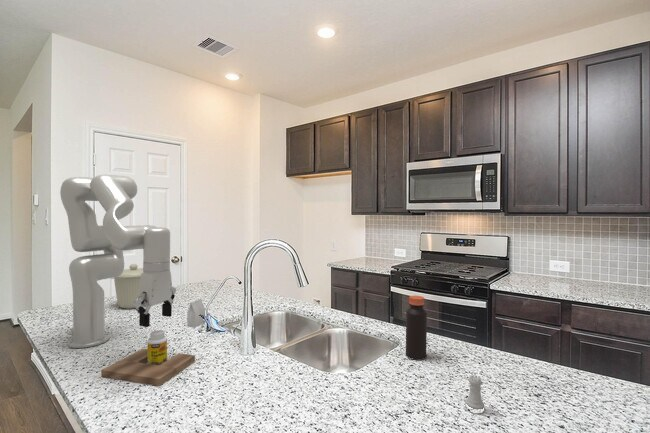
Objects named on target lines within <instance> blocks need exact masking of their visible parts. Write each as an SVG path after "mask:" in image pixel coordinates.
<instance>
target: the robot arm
mask: <svg viewBox="0 0 650 433" xmlns="http://www.w3.org/2000/svg"><path fill="white" fill-rule="evenodd" d="M59 193H60V194H59V195H60V200H61V203H62V205H63V208H64V210H65V213H66V216H67V220H68V221H67V222H68V229H69V238H70V242H71V247H72V250H74V251H75V252H78V253H90V252H97V251H98V252H101V251H103V253H99V254H89V255H83V256H79V257H76V258H74V259H73V260H71V261H70V264H69V266H68V272H69V277H70V281H71V287H72V288H71V289H72V324H73V325H72V328H71V329H70V330H69V331H67V332H66V334H67V336H71V339H69V340H68V341H67V345H68V347H70V348H73V349H83V348H84V349H85V348H92V347H94V346H95V347H96V346H99V345H101V344H104V343H106V342H107V341H109V340H110V335H111V334H110V333H108V332H106V330H105V329H106V328H105V326H106V325H105V324H106V321H105V314H106V313H105V310H106V309H105V308H106V307H105V291H104V289H103V287H102V286H101V285H100V284H99V283H98V281H101V280H107V279H114V277H117V276H120V275H121V274H122V273H123V271H124V270H125V257H124V251H133V250H142V251H143V254H142V255H143V256H142V258H143V260H142V261H143V262H142V264H143V265H142V268H143V273H141V277H140V282H139V290H138V298H137V299H136V300H135V301H134V302H133V304H134V306H135V308H134V309H135V311H137V314H138V316H139V318H138V319H139V321H138V323H139V324H138V325H139V326H140V327H145V328H148V327H150V325H151V324H150V321H151V318H150V317H151V315H150V313H149V312H150V309H151V308H152V307H153V306H156V305H159V304H162V305H161V315H162V316H163V317H167V318H170V317H172V312H173V311H172V310H173V309H172V308H173V307H172V305H173V303H174V299H175V296H176V295H175V294H176V292H177V288H176V287H174V286H173V284H172V283H173V281H172V280H173V279H172V272H171V231H170V229H169V228H167V227H162V226H161V227H160V226H159V227H157V226H155V225H150V224H148V225H147V224H146V225H145V224H144V225H125V226H124V225H122V224H121V222H120V221H119V220H122V219H124V218H125V217H127V216H128V215H130V214H131V213H132V211H133V210H134V206H135V205H134V201H133V200H132V199H133V198H135V197H136V195H137V193H138V185H137V184H136V182H135V180H134V179H133V178H131V177H130V176H125V175H115V174H114V175H113V174H100V175H96V176H93V177H87V176H86V177H85V176H74V177H73V176H72V177H69V178H66V179H65V180H63V182H62V183H61V186H60V192H59ZM86 201H87V202H88V201H89V202H98V203H99V204H100V205H101V207H102V208H103V210H104V211H105V214H104V216H103V219H102V225H98V222H97V214H96V212H95V211H94V209H93V208H92V207H91V205H89V204H88V203H87V202H86Z"/></svg>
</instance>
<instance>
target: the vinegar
mask: <svg viewBox="0 0 650 433" xmlns="http://www.w3.org/2000/svg"><path fill="white" fill-rule="evenodd" d="M408 304H409V308H408V309H407V310H406V312H405V320H406V321H405V357H407V356H408V357H410V358H413V359H412V360H414V359H423V358H425V357H426V358H427V343H428V342H427V340H428V339H427V337H428V332H427V330H428V329H427V328H428V312H427V311H426V310H425V308H424V307H425V297H424V296H421V295H417V294H415V295H409V297H408ZM408 357H407V358H408ZM410 358H409V359H410ZM426 358H425V359H426ZM423 360H424V359H423Z"/></svg>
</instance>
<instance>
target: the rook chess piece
mask: <svg viewBox="0 0 650 433" xmlns="http://www.w3.org/2000/svg"><path fill="white" fill-rule="evenodd" d="M468 382H469V384H470V385H468V386H469V395H468V396H467V399H466V400H465V405H466V404H467V405H468V406H469V407H471V408H473V409H483V408H484V409H485V403H484V402H483V399H482V393H481V391H482V387H481V386H482V384H483V381H482V378H481V377H480V376H478V375H476V374H475V375H470V376H469V378H468Z"/></svg>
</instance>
